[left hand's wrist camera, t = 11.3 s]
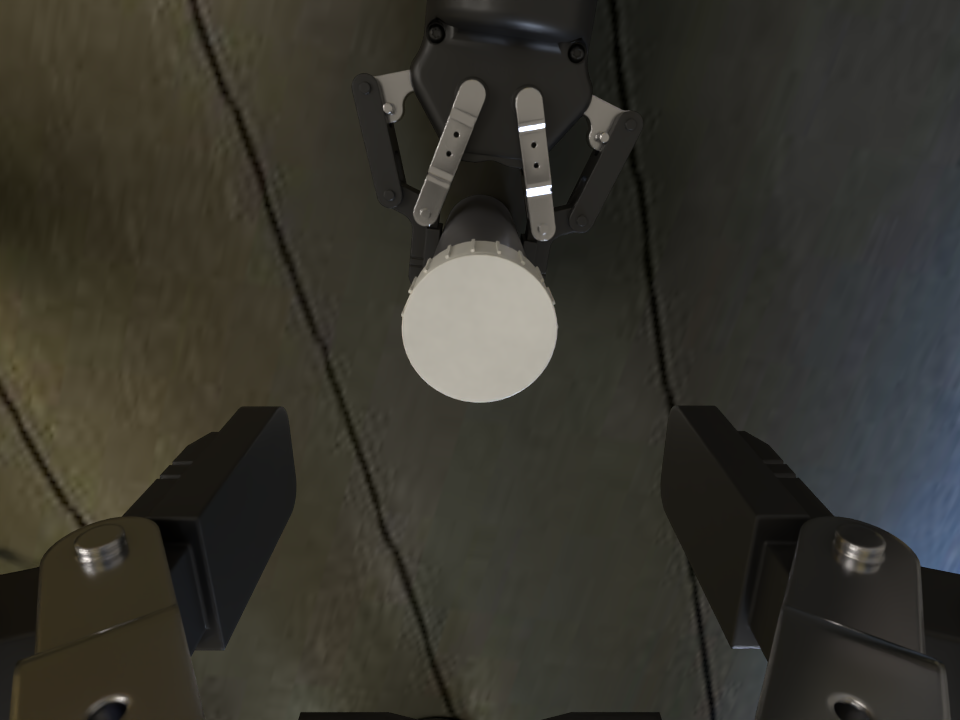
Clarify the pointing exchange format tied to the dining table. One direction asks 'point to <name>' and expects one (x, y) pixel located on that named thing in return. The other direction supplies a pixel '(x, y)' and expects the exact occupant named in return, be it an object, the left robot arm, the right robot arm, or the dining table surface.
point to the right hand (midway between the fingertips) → (474, 300)
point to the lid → (479, 322)
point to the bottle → (479, 224)
